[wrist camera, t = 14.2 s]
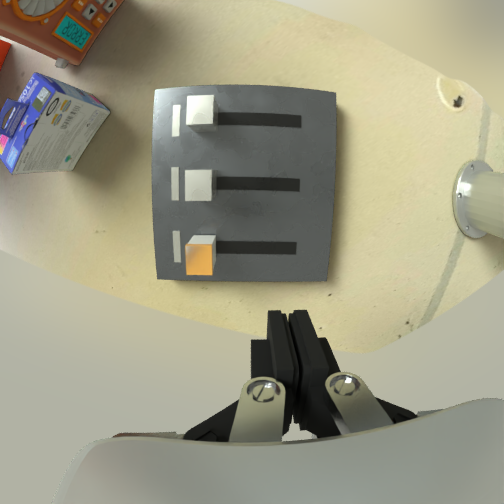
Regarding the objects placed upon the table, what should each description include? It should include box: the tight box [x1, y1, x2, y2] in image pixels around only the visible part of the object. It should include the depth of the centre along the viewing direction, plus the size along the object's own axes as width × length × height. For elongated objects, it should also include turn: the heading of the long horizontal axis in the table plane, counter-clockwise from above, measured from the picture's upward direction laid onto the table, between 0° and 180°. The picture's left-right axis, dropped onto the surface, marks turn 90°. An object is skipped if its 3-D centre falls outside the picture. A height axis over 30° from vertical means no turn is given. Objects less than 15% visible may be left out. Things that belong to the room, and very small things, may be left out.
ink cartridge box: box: [0, 73, 110, 175], centre depth 22 cm, size 10×6×14 cm, turn 139°
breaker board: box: [152, 85, 336, 281], centre depth 28 cm, size 20×22×8 cm
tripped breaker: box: [185, 235, 216, 275], centre depth 28 cm, size 2×3×4 cm
